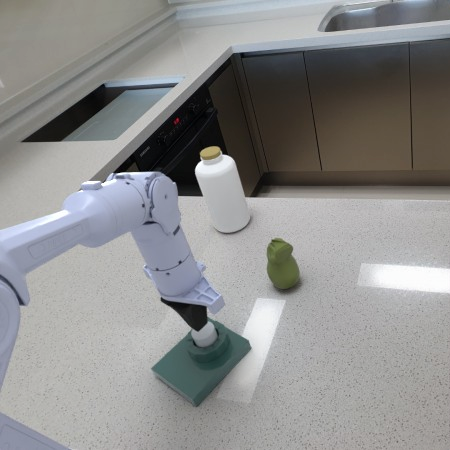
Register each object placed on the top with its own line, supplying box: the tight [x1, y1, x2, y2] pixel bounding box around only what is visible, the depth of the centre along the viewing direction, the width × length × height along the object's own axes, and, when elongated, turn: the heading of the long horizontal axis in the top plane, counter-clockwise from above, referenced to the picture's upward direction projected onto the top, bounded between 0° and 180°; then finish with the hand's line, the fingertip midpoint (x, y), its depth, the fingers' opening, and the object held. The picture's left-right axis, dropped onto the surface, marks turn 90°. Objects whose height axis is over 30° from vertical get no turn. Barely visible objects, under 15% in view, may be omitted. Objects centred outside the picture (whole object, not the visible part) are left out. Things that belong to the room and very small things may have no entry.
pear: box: [266, 237, 301, 290], centre depth 80 cm, size 6×5×10 cm
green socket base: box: [150, 316, 252, 407], centre depth 71 cm, size 12×10×4 cm
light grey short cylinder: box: [191, 321, 218, 348], centre depth 71 cm, size 4×4×2 cm
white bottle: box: [194, 145, 251, 234], centre depth 96 cm, size 8×8×18 cm
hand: (200, 325), depth 67 cm, fingers closed
